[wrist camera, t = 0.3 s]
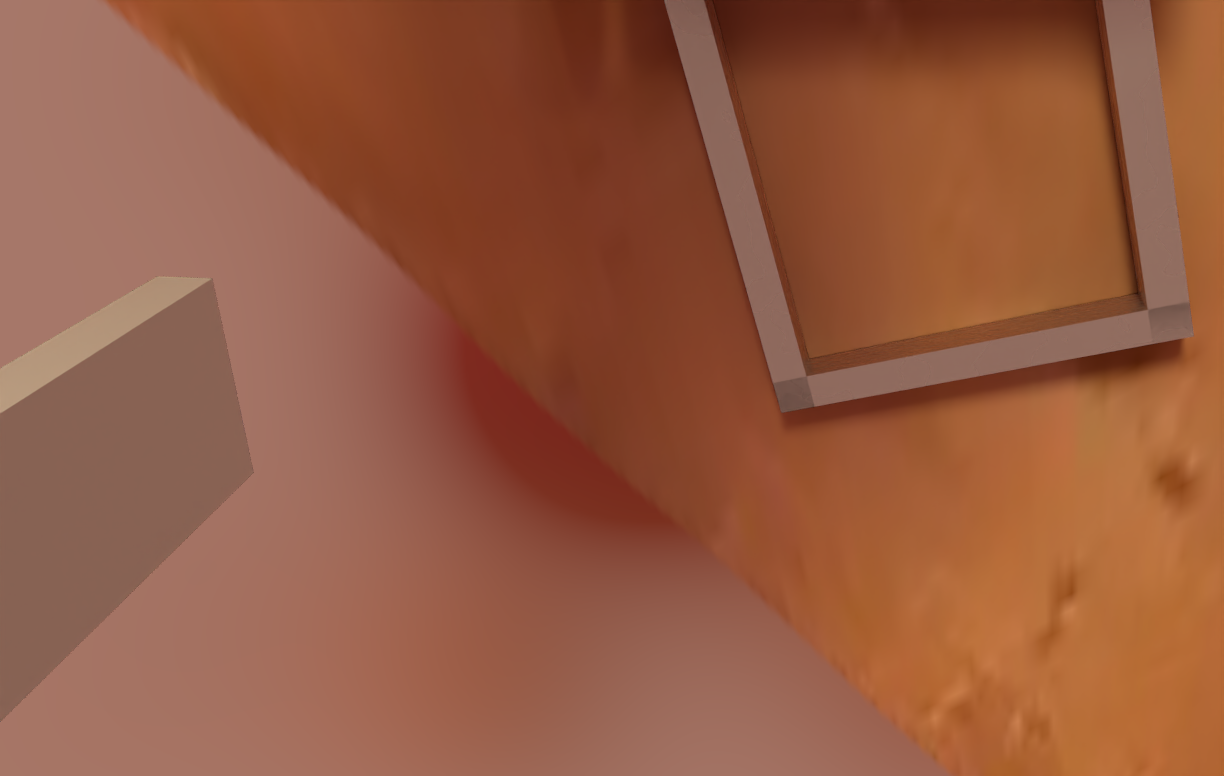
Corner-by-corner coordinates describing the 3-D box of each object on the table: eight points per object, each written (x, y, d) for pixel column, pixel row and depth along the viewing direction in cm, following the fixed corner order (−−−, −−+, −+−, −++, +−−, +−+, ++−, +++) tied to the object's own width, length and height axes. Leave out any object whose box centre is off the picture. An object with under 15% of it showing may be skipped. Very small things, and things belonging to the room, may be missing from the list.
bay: (655, -64, 35) (646, -60, 34) (1110, -219, 31) (1120, -222, 29) (784, 394, 41) (781, 412, 39) (1182, 319, 36) (1193, 336, 35)
